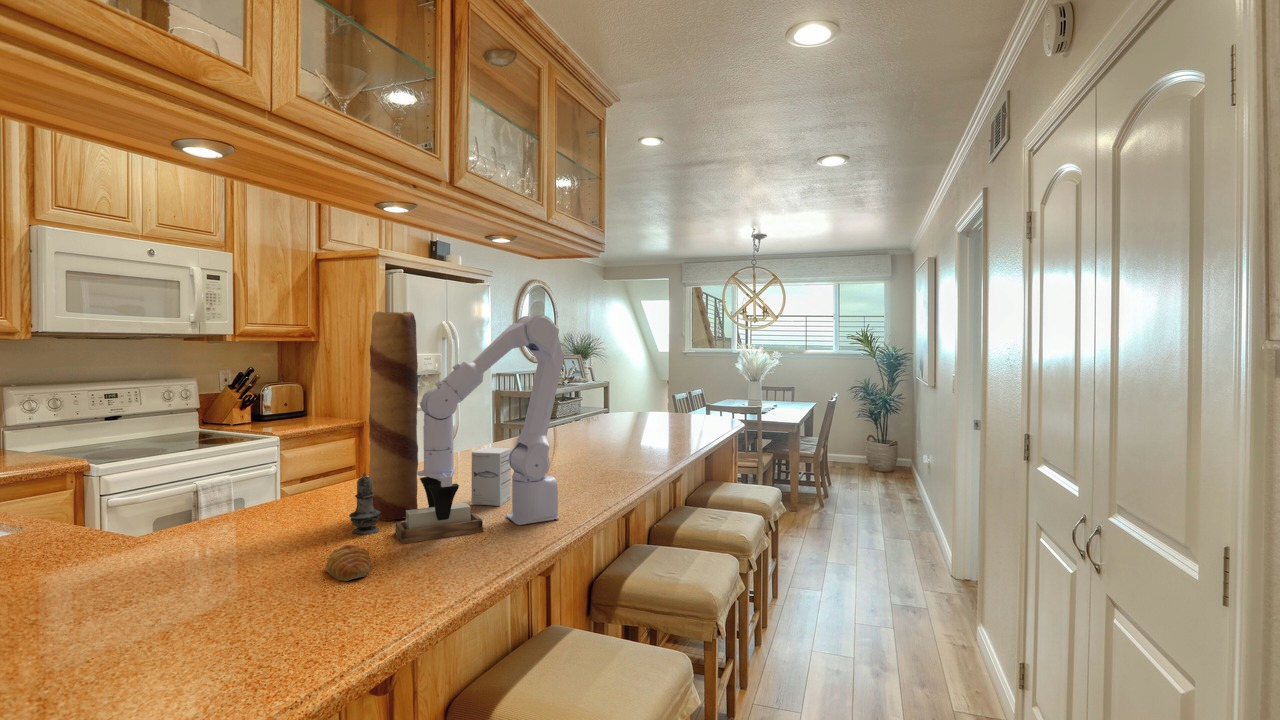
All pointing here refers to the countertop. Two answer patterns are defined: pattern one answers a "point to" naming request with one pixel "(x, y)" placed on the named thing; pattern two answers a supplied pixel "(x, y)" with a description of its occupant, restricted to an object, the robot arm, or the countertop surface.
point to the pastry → (348, 563)
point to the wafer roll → (393, 414)
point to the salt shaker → (364, 508)
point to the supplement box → (491, 476)
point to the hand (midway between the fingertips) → (439, 515)
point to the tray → (438, 530)
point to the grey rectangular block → (428, 517)
